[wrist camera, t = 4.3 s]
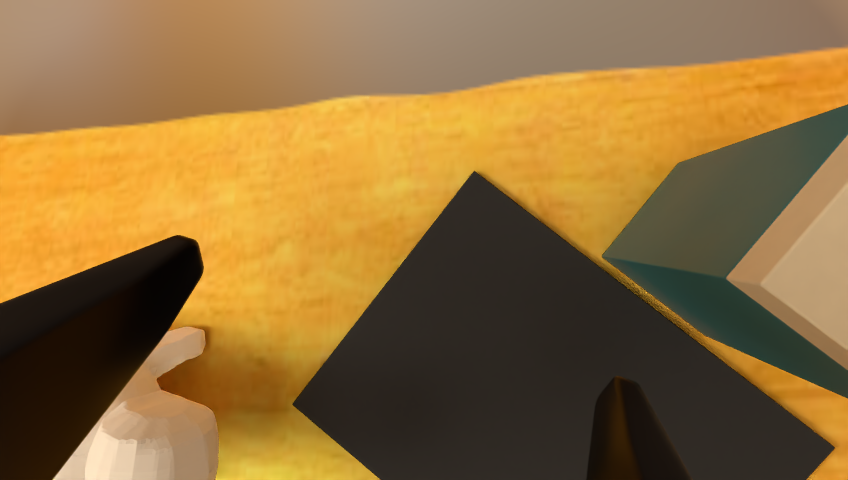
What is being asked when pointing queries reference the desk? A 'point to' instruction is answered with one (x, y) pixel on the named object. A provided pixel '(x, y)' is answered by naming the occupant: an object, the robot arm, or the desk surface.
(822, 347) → the toy box
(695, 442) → the mat
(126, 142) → the desk surface
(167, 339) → the white turtle figurine
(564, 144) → the desk surface
